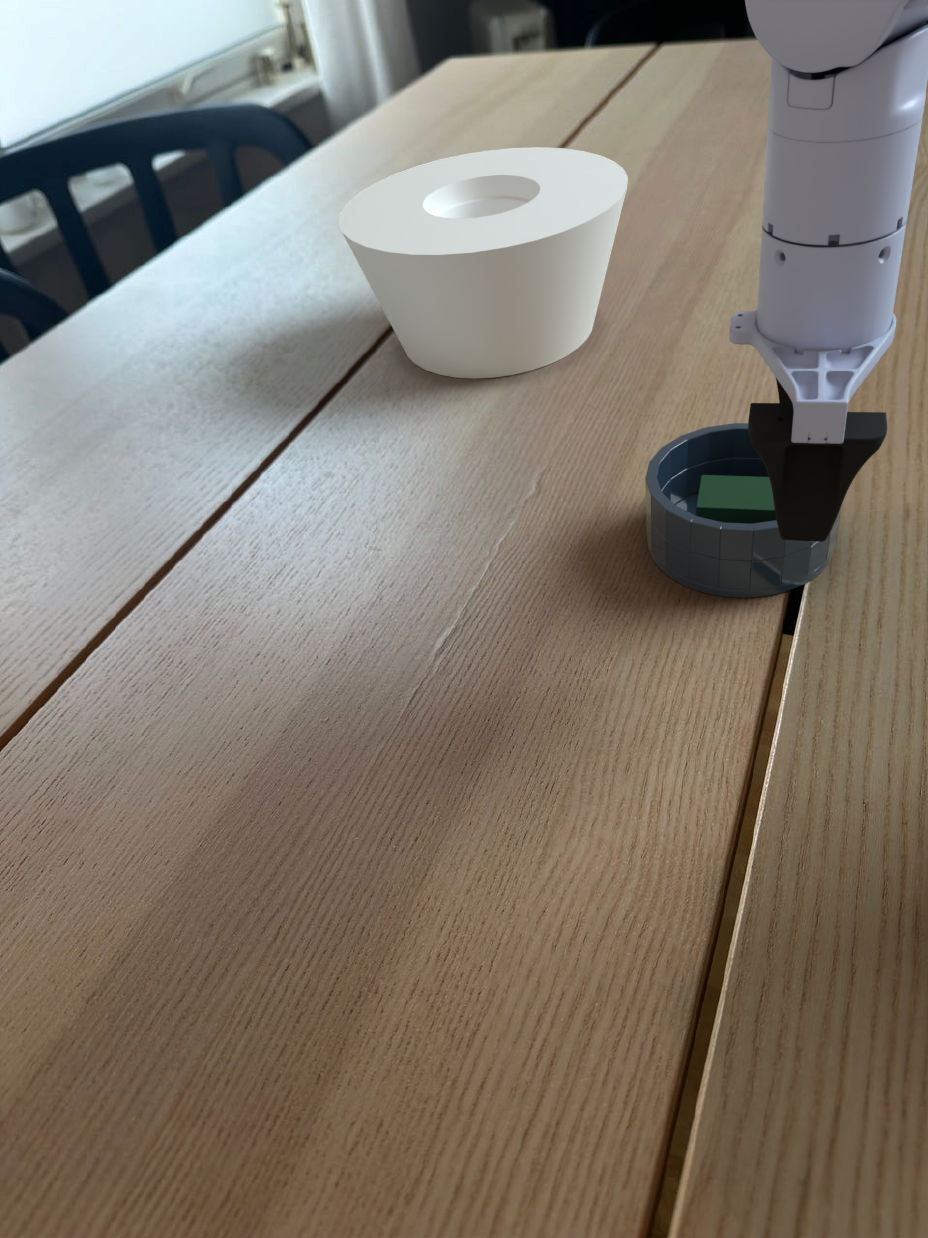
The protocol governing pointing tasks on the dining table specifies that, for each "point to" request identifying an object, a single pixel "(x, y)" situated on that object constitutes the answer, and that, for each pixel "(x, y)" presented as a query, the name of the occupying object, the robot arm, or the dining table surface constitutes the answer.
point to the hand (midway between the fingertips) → (804, 490)
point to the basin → (716, 549)
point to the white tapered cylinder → (489, 255)
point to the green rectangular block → (735, 499)
